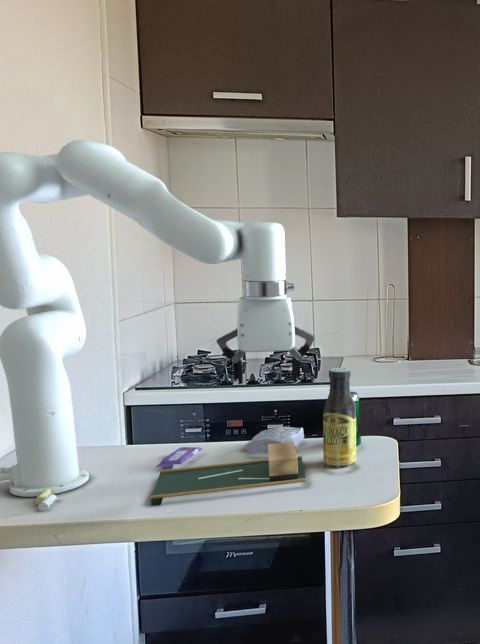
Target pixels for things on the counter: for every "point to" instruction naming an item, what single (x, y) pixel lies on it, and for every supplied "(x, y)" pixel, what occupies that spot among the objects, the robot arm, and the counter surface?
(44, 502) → the chalk stick
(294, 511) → the counter surface
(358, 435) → the soda can
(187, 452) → the snack package
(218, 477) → the chalkboard
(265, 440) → the stone block
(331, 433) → the sauce bottle
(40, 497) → the chalk stick
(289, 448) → the eraser
